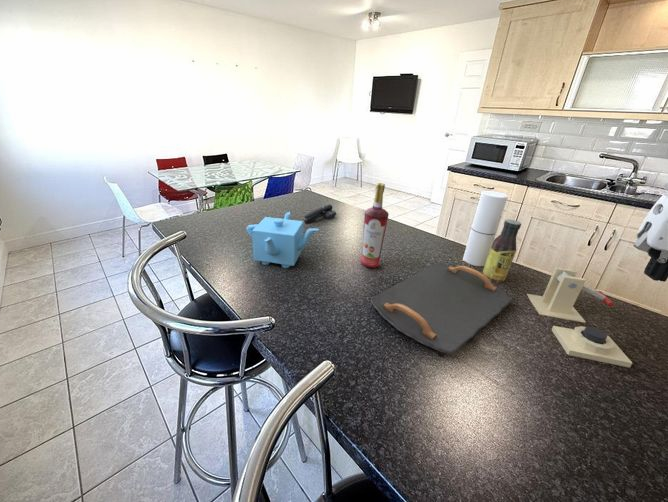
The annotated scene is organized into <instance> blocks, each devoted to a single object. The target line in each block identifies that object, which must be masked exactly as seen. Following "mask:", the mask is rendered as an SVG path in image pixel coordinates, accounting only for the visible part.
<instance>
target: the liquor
mask: <svg viewBox="0 0 668 502" xmlns="http://www.w3.org/2000/svg"><path fill="white" fill-rule="evenodd" d="M385 187H386V184H385V183H381V182H377V183H375V187H374V192H375V193H374V198H373V202H372V207H368V208H367V209H365V211H364V219H363V233H362V250H361V257H360V259H359V262H360V263H361V264H362V266H364V267H365V268H368V269H375V268H377V267H379V266H381V264H382V263H381V255H382V250H383V245H384V244H383V243H384V240H385V235H386V231H387V225H388V220H389V215H390V214H389V212H388V211H387V210H386V209H385V208H383V202H384V201H383V199H384V193H385Z"/></svg>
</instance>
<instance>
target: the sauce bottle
mask: <svg viewBox="0 0 668 502" xmlns="http://www.w3.org/2000/svg"><path fill="white" fill-rule="evenodd" d="M521 227H522V222H520V221H519V220H514V219H510V218H509V219H505V220H504V223H503V228H502V230H501V232H500V234H499V235H498V236H496V237H495V239H494V242H493V245H492V247H491V249H490V252H489V255H488V258H487V260H486V263H485V266H483V269H482V274H484V275H485V276H487V277H488V278H489V280H490V281H491V283H496V284H503V283H504V282H505V280H506V278H507V276H508V273H509V270H510V269H511V266H512V263H513V260H514V258H515V256H516V253H517V237H518V233H519V230H520V229H521Z"/></svg>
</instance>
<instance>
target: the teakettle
mask: <svg viewBox="0 0 668 502" xmlns="http://www.w3.org/2000/svg"><path fill="white" fill-rule="evenodd" d="M290 217H291V211H287V212H285V214H284V217H283V218H279V217H269V216H265V217H264V218H263V219H262V220H261V221H260V222H259V223H258V224H249V225H247V226H246V232H247V234H248V235H249V236H250V237H251V240H252V256H253V257H252V259H253V260H254V261H259V262H260V263H261V264H262V265H265V266H266V265H267V266H268V265H270V264H271V263H272V264H279V265H281V267H282V268H283V269H287V268H290V267H291V266H292V267H294V266H295V265H296V263H297V261H298V259H299V257H300V255H301V253H302V251H303V249H305V248H306V247H307V245H308V244H309V240H310V237H311V236H312V235H313V234H314V233H316V232H318V231H319V230H320V228H317V227H316V228H315V227H311V228H308V229H307V230H306V232H305V234H304V220H296V219H295V220H294V219H290Z"/></svg>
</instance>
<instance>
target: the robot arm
mask: <svg viewBox="0 0 668 502" xmlns="http://www.w3.org/2000/svg"><path fill="white" fill-rule="evenodd" d="M663 190H664V191H668V182H667V183H664V185H663ZM636 239H637V240H636V241H635V242H634V244H632V245H633V247H634V248H635V249H637V250H639V251H642V252H645V253H647V255H648V256H649V257H650V259H649V260H648V262H647V264H646V266H645V268H644V271H643V274H644V275H645V276H647V277H648V278H649V279H651V280H653V281H656V282H664V283H665V282H666V281H667V280H668V192H667V193H663V194H662V195H661V196H660V197H659V199H658V200H657V201H656V202H655V203H654V204H653V206H652V207H651V208H650V210H649V211H648V213H647V214H646V216H645V218H644V219H643V221H642V223H641V224H640V226H639V228H638V231H637V232H636Z"/></svg>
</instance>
